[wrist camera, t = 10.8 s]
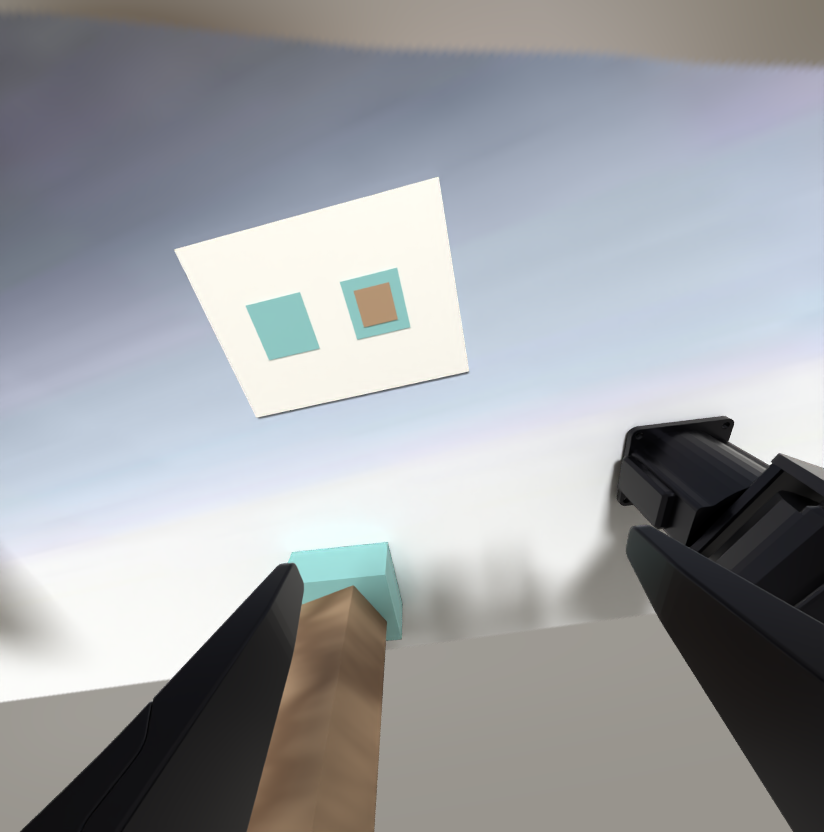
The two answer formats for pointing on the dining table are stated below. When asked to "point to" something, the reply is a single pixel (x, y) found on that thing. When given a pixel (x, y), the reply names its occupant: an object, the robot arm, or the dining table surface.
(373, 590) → the base brick
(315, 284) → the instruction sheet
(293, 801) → the column brick
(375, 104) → the dining table surface
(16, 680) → the dining table surface
